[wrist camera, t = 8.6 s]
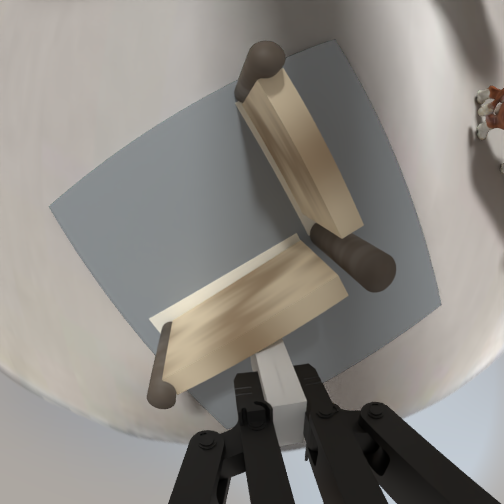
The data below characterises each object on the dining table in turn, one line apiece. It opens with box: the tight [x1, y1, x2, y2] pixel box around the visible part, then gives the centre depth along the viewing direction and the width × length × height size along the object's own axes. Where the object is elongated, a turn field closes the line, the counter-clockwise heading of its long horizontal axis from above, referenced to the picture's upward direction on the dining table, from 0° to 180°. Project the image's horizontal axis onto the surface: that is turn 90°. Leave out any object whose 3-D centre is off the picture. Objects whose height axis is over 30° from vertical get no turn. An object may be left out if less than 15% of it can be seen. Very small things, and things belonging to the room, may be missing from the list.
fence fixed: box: [234, 41, 396, 293], centre depth 15 cm, size 11×2×7 cm, turn 29°
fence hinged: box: [147, 240, 349, 409], centre depth 16 cm, size 11×1×7 cm, turn 122°
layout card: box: [49, 39, 441, 429], centre depth 20 cm, size 22×21×1 cm
